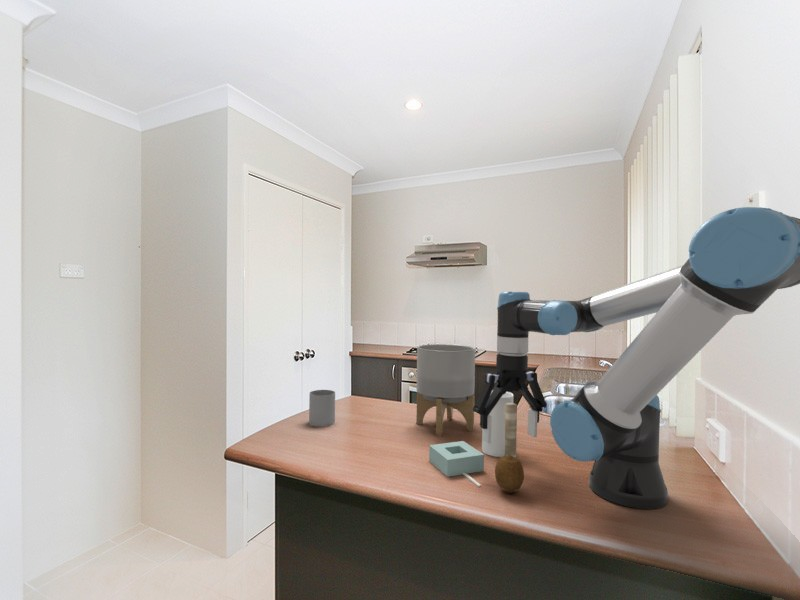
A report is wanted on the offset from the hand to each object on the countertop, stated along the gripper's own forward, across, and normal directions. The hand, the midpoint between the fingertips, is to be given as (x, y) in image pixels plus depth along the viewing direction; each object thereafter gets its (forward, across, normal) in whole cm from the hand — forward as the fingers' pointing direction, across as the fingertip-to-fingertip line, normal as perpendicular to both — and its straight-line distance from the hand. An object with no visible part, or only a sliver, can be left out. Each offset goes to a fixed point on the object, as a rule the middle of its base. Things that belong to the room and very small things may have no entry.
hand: (509, 438), depth 103 cm
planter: (+8, 0, -34) cm, 35 cm away
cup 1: (+8, +37, -51) cm, 64 cm away
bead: (+8, +12, -6) cm, 15 cm away
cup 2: (+8, -4, -11) cm, 14 cm away
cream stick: (+7, +12, +3) cm, 15 cm away
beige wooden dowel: (+7, 0, 0) cm, 7 cm away
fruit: (+8, +8, +10) cm, 15 cm away
